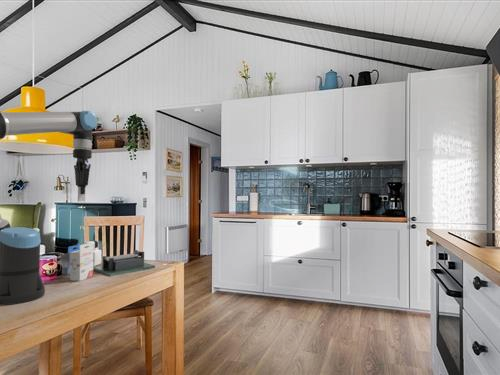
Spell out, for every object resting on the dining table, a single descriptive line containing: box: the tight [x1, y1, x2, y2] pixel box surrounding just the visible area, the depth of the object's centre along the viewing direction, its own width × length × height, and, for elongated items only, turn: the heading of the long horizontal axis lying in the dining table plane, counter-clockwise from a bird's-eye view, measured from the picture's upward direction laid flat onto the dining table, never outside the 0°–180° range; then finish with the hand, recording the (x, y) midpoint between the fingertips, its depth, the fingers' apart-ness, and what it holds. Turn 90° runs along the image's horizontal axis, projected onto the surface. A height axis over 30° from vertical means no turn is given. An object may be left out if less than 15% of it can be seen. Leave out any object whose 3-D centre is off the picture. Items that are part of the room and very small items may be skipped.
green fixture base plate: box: [93, 249, 156, 277], centre depth 156 cm, size 22×18×8 cm
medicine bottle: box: [84, 240, 102, 267], centre depth 165 cm, size 7×7×12 cm
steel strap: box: [104, 250, 142, 261], centre depth 156 cm, size 17×4×2 cm, turn 138°
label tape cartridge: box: [60, 243, 82, 275], centre depth 149 cm, size 9×4×12 cm, turn 171°
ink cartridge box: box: [69, 243, 94, 282], centre depth 138 cm, size 9×5×15 cm, turn 168°
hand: (81, 201), depth 148 cm, fingers closed
